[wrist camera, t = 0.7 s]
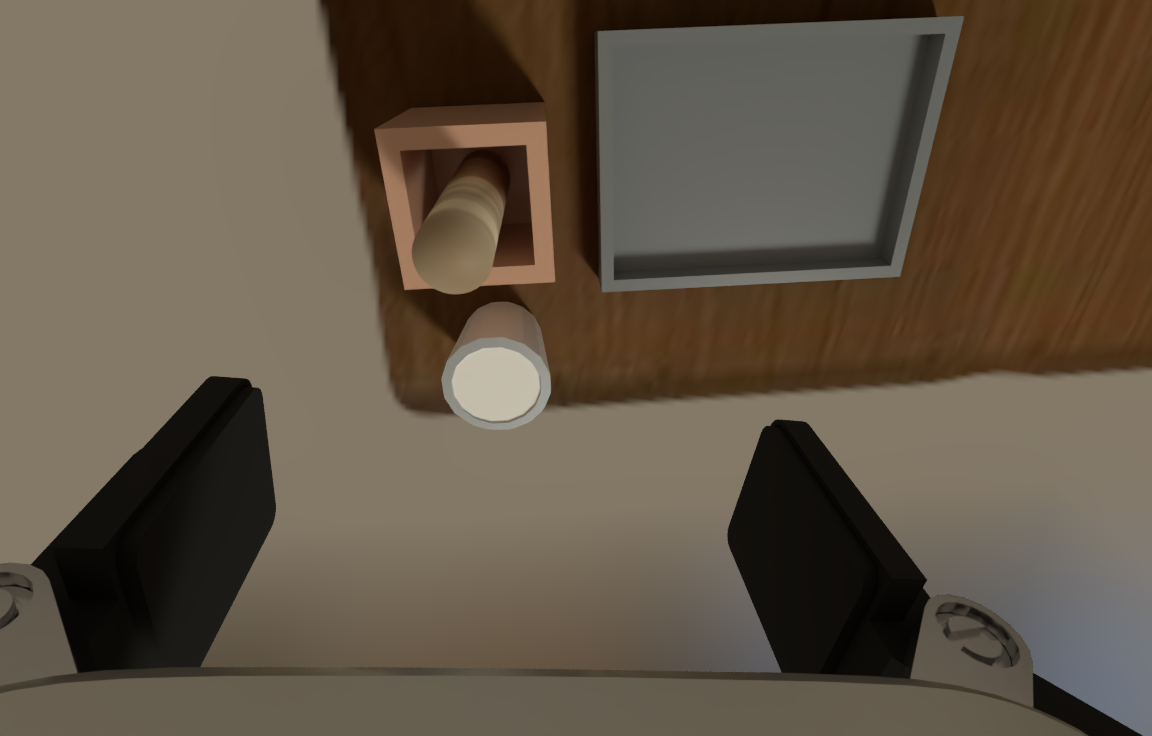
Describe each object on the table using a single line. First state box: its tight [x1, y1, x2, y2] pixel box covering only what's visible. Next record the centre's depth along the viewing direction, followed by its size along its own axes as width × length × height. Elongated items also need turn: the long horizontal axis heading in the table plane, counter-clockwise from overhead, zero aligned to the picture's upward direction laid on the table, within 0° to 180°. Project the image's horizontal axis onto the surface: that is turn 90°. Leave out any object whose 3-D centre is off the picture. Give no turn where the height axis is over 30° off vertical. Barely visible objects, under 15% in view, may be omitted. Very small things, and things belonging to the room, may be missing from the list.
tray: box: [594, 16, 964, 292], centre depth 37 cm, size 20×15×2 cm
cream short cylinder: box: [441, 302, 551, 430], centre depth 40 cm, size 7×7×7 cm
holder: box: [374, 102, 555, 290], centre depth 34 cm, size 8×8×9 cm
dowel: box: [412, 150, 510, 294], centre depth 30 cm, size 3×3×15 cm
